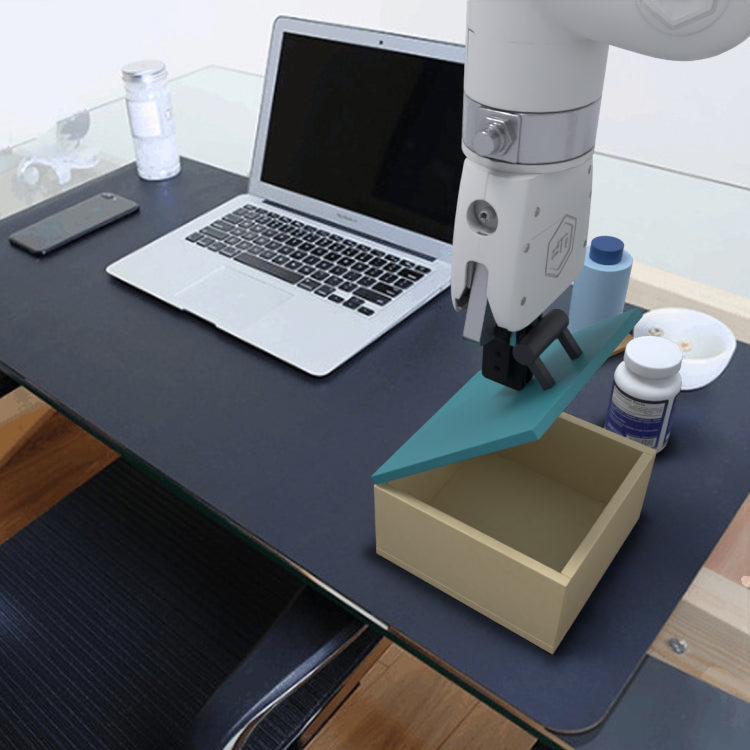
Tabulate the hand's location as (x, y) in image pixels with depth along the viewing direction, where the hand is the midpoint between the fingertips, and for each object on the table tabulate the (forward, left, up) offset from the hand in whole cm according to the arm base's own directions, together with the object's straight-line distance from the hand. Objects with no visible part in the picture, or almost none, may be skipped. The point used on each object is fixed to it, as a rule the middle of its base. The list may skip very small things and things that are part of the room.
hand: (506, 377), depth 56 cm
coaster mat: (+15, -25, -16) cm, 33 cm away
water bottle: (+15, -25, -15) cm, 33 cm away
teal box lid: (0, 0, -2) cm, 2 cm away
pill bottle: (+2, -18, -16) cm, 24 cm away
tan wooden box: (-2, -1, -16) cm, 16 cm away
